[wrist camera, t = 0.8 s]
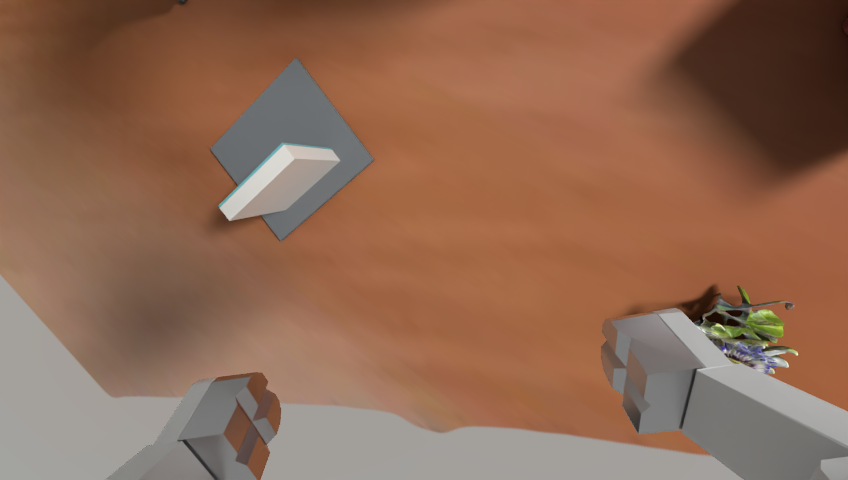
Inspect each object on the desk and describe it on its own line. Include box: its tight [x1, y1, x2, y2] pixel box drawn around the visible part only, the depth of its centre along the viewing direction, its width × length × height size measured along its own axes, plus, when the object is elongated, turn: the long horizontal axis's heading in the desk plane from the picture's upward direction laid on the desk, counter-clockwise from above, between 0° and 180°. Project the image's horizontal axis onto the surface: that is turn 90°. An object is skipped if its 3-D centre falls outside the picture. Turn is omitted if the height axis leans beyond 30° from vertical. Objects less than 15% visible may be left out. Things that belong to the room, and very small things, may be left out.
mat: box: [210, 58, 374, 241], centre depth 55 cm, size 18×20×1 cm
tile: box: [218, 143, 340, 221], centre depth 49 cm, size 2×12×12 cm, turn 128°
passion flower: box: [694, 286, 798, 375], centre depth 44 cm, size 11×11×12 cm
